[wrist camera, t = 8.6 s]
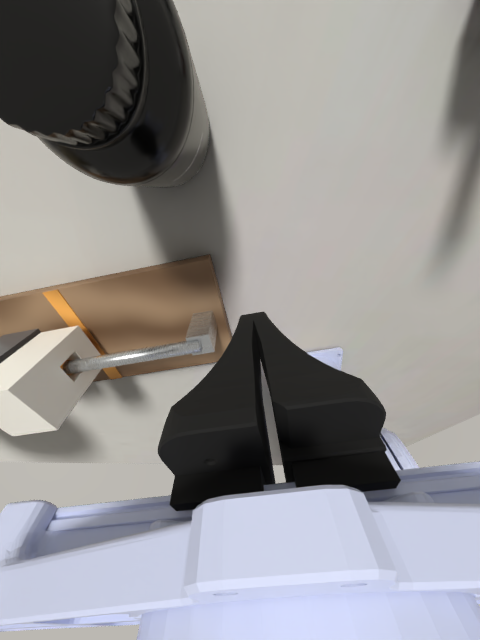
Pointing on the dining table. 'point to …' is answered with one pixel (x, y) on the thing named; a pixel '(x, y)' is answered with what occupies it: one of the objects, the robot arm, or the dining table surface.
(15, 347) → the block
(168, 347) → the rail
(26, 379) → the sleeve
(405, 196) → the dining table surface
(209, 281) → the board
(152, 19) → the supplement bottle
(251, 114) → the dining table surface
